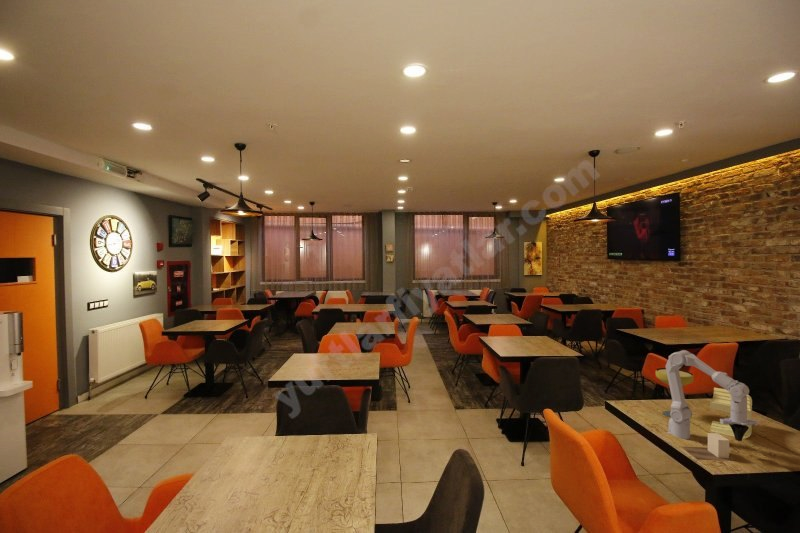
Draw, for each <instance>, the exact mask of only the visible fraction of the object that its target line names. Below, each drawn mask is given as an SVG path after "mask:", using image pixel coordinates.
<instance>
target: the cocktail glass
mask: <svg viewBox="0 0 800 533" xmlns="http://www.w3.org/2000/svg"><path fill="white" fill-rule="evenodd" d="M679 373H680V378H681V383H682V387H684V386H688V385H690V384H693V382H694V377H695V376H694V374H693V373H692V372H690V371H687V370H684V369H679ZM655 377H656V379H658V380H659V381H660V382H662V383H664V384H665V385H667V386H669V381H668V376H667V371H666V367H660V368H657V369H656V370H655ZM670 412H671V410H665V411H662V415H664V416H666V417H668V418H671V416H670Z"/></svg>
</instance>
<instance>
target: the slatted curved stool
mask: <svg viewBox="0 0 800 533" xmlns="http://www.w3.org/2000/svg"><path fill="white" fill-rule="evenodd" d="M712 395H713V396H712V401H711V402H710V401H709V408H710V409H714V410H717V411H722V412H725V413H728V414H729V415H731V395H730V394H729V391H727V390H726V389H724V388H721V387H719V388H718V387H713V394H712ZM746 396H747V419H750V420H753V407H752V406H753V399H752V396H750V395H749V394H748V395H746ZM710 425H711V426H710V432H711V433H712V432H713V433H718V434H720V435H721V434H722V435H725V436H731V437H734V438H735V436H734V433H733V431H732V428H731V427H730V425H729V424H725V425H723V424H721V423H720V421H717V420H712V421H711V424H710ZM746 426H748V427H749V429H748V430H747V431H746V433H745V434H744V436H743V439H748V438H749V437H750V436H751V435H752V432H753V431H752V428H753V427H752V426H753V425H746ZM743 439H742V440H743Z"/></svg>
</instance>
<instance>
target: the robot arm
mask: <svg viewBox="0 0 800 533" xmlns="http://www.w3.org/2000/svg"><path fill="white" fill-rule="evenodd" d="M683 366H685V367H686V366H687V367H695V368H696V369H698V370H700V371H702V372H703V373H704V374H706V375H708V376H709V377H711V379H712V381H713V382H714V383H716V384H717V385H718V386H720V388H721V387H722V389H726V390H727V391H729V394H730V395H731V414H729V416H730V417H726V418H725V417H724V418H719V422H720V423H721V424H723V425H725V424H729V425H730V427H731V428H732V431H733V433H734V436H735V437H734V436H733V437H734V438H735V439H734V440H736V441H737V442H742V441H743V436H744V434H745V433H746V431H747V430H748V429H749V427H748V426H746V425H752V426H756V427H758V424H759V422H758V421H757V420H755V419H752V420H750V419H747V396H746V395H749V394H750V389H749V386H748V385H746V384H745V383H743V382H739V380H735V379H733V378H732V377H731V376H729V375H728V373H727V372H723V371H716V370H715V369H713V368H712V367H711V366H710V365H708V364H707V363H705V362H704V361H702V360H701V359H699V357H697V356H696V355H695V354H694V353H691V352H690V351H688V350H685V349H682V350H680V351H675V352H673V353H671V354H670V355H668V360H667V362H666V363H665V368H666V371H667V376H668V381H669V385H668V386H669V389H670V395H671V396H670V397H671V400H672V402H671V405H670V411H671V412H670V416H671V417H669V419H668V431H667V432H666V435H667V434H671V435H672V436H673V437H675V438H678V439H683V440H688V439H689V440H690V439H691V420H690V419H691V418H692V417H693V411H692V410H691V408H690V407H689V403H688V402H686V398H685V393H684V389H683V386H682V383H681V378H680V373H679V370H681V368H682V367H683Z"/></svg>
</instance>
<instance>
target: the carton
mask: <svg viewBox="0 0 800 533" xmlns="http://www.w3.org/2000/svg"><path fill="white" fill-rule="evenodd" d="M707 448H708V451H710V452H711V453H712V454H714V455H715V456H717V457H718V458H729V456H730V440H729V439H728V438H726V437H725V436H724V435H721V433H716V432H713V433H712V432H708V433H707Z"/></svg>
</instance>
